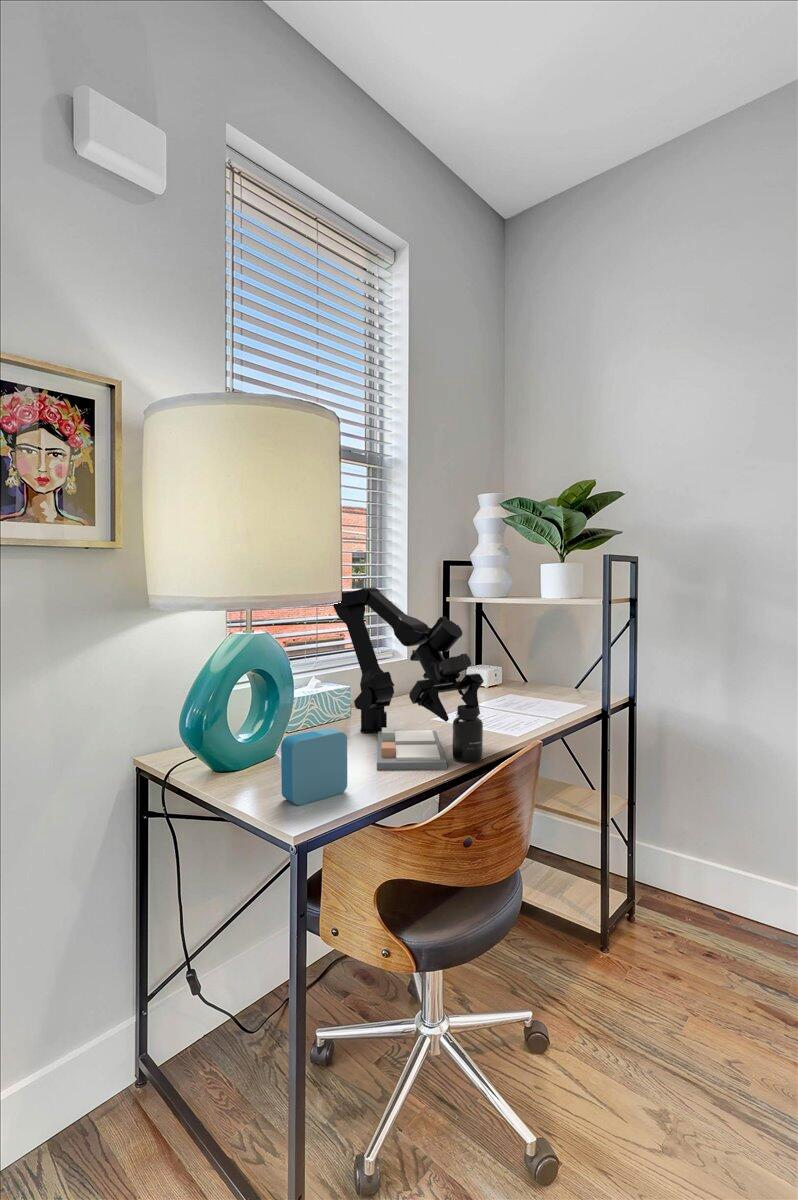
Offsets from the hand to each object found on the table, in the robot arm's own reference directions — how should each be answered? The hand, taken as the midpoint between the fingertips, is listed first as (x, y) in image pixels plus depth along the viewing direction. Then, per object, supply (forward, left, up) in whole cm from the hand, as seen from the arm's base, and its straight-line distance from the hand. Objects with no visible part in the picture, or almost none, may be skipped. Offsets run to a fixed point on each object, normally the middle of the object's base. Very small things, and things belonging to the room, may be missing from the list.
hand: (463, 717), depth 138 cm
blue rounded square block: (-31, -23, -9) cm, 40 cm away
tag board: (-12, +5, -9) cm, 16 cm away
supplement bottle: (+1, -1, -9) cm, 9 cm away
